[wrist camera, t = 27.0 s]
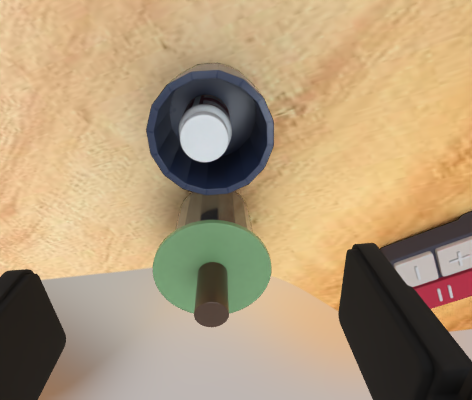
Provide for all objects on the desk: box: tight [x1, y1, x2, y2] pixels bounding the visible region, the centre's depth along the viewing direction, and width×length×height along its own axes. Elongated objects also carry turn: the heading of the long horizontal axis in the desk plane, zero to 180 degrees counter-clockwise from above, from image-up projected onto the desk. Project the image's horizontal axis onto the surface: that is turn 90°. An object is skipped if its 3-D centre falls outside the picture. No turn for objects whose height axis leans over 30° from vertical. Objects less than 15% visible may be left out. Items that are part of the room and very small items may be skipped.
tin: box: [146, 63, 274, 195], centre depth 29 cm, size 10×10×9 cm
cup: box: [175, 191, 252, 232], centre depth 34 cm, size 9×9×10 cm
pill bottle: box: [179, 95, 232, 162], centre depth 29 cm, size 5×5×8 cm
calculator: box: [380, 211, 472, 309], centre depth 42 cm, size 11×4×15 cm
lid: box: [153, 220, 271, 327], centre depth 27 cm, size 11×11×6 cm
